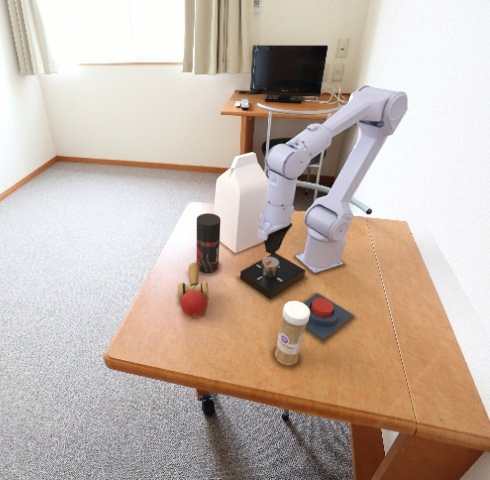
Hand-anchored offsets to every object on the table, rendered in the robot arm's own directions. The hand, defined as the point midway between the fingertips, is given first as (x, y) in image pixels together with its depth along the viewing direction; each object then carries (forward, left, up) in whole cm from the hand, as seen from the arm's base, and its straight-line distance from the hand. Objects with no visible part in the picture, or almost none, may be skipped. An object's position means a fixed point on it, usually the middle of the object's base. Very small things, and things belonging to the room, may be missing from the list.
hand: (272, 250), depth 84 cm
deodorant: (+12, -11, -10) cm, 19 cm away
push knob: (-3, +15, -7) cm, 17 cm away
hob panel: (-1, 0, -9) cm, 10 cm away
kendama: (+20, -3, -10) cm, 22 cm away
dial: (0, 0, -7) cm, 7 cm away
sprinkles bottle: (+10, +21, -10) cm, 25 cm away
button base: (-3, +15, -9) cm, 18 cm away
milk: (-3, -20, -10) cm, 23 cm away
